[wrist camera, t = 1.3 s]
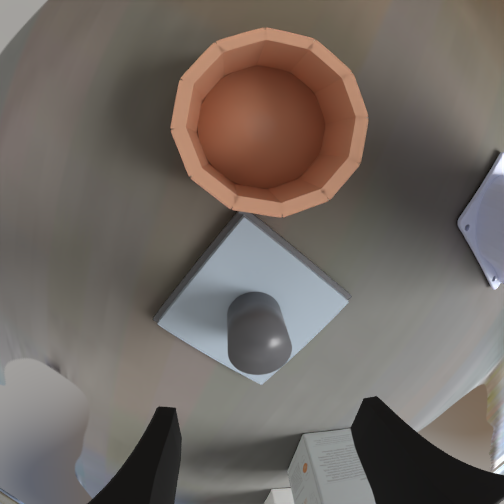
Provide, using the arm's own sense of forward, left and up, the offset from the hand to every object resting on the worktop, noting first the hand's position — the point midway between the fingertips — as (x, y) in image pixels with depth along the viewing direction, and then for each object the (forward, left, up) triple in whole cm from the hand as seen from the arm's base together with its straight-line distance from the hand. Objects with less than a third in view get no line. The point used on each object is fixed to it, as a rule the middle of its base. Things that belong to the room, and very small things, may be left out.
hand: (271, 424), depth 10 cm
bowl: (+6, -9, -9) cm, 14 cm away
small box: (-18, +9, -9) cm, 22 cm away
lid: (0, 0, -9) cm, 9 cm away
